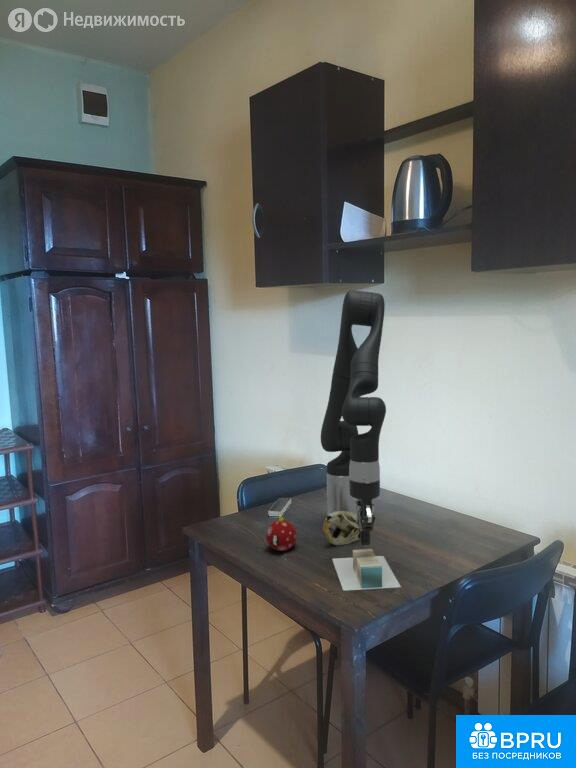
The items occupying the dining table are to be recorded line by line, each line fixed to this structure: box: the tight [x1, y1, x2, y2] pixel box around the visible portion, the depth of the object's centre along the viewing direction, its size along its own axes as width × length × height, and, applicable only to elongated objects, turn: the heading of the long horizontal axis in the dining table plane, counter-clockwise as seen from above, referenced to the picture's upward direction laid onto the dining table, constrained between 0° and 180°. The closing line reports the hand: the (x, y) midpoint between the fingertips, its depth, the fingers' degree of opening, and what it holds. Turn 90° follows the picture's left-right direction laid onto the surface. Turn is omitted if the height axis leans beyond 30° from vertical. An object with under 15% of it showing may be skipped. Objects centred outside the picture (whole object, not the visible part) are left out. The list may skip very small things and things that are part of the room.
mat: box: [331, 555, 402, 592], centre depth 146 cm, size 18×14×1 cm
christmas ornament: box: [265, 515, 298, 552], centre depth 162 cm, size 9×9×10 cm
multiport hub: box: [267, 497, 292, 517], centre depth 196 cm, size 4×14×2 cm, turn 166°
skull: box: [322, 511, 360, 546], centre depth 166 cm, size 10×16×10 cm, turn 134°
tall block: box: [352, 548, 382, 588], centre depth 143 cm, size 5×5×11 cm
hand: (365, 543), depth 144 cm, fingers closed
